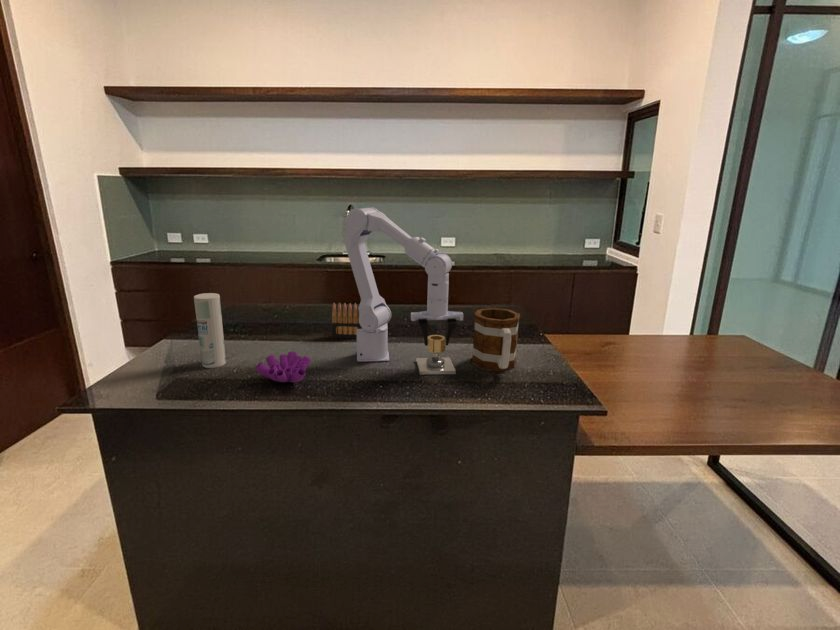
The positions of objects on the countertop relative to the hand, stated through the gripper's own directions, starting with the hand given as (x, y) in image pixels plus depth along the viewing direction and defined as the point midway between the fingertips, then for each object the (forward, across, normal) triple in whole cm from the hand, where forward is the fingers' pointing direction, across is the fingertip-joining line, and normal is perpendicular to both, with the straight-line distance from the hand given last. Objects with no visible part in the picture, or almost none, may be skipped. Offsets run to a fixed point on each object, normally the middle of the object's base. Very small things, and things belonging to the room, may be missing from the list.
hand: (436, 344), depth 133 cm
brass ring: (+2, 0, 0) cm, 2 cm away
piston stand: (+7, 0, 0) cm, 7 cm away
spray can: (+7, -63, +6) cm, 64 cm away
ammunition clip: (+7, -26, +28) cm, 39 cm away
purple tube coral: (+7, -41, -6) cm, 42 cm away
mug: (+7, +18, 0) cm, 19 cm away
